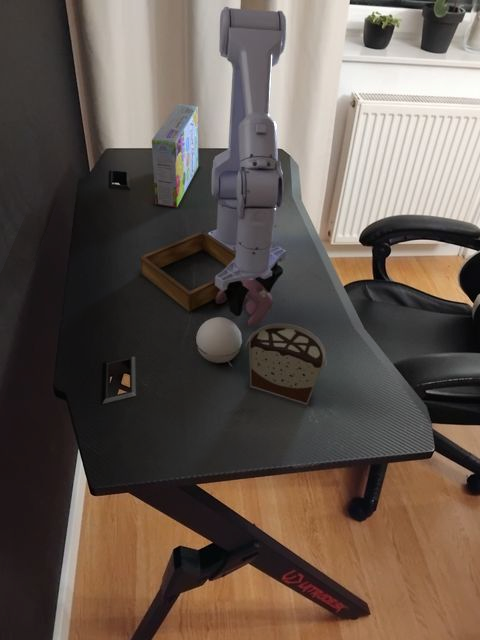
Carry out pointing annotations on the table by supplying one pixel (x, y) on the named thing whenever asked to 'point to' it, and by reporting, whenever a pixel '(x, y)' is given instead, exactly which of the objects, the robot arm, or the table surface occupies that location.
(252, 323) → the video game controller
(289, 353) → the brown and beige cupcake
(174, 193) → the snack box
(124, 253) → the table surface
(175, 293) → the wooden frame
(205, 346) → the seamed sphere
